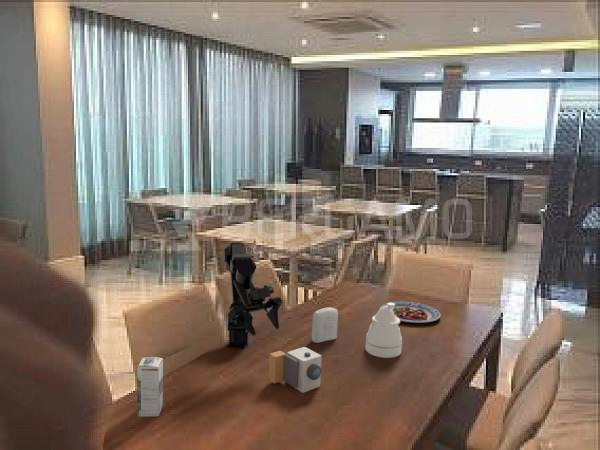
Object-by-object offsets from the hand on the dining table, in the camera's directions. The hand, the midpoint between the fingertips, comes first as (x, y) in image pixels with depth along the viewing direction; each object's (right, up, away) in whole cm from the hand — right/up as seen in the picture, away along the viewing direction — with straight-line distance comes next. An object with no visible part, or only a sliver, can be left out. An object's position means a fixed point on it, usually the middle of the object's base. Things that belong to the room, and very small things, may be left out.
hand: (266, 331), depth 159 cm
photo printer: (+20, -10, +31) cm, 38 cm away
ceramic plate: (+58, -6, +60) cm, 84 cm away
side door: (+5, -14, -6) cm, 17 cm away
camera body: (+12, -15, -4) cm, 20 cm away
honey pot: (+41, -12, +23) cm, 48 cm away
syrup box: (-30, -17, -22) cm, 41 cm away
